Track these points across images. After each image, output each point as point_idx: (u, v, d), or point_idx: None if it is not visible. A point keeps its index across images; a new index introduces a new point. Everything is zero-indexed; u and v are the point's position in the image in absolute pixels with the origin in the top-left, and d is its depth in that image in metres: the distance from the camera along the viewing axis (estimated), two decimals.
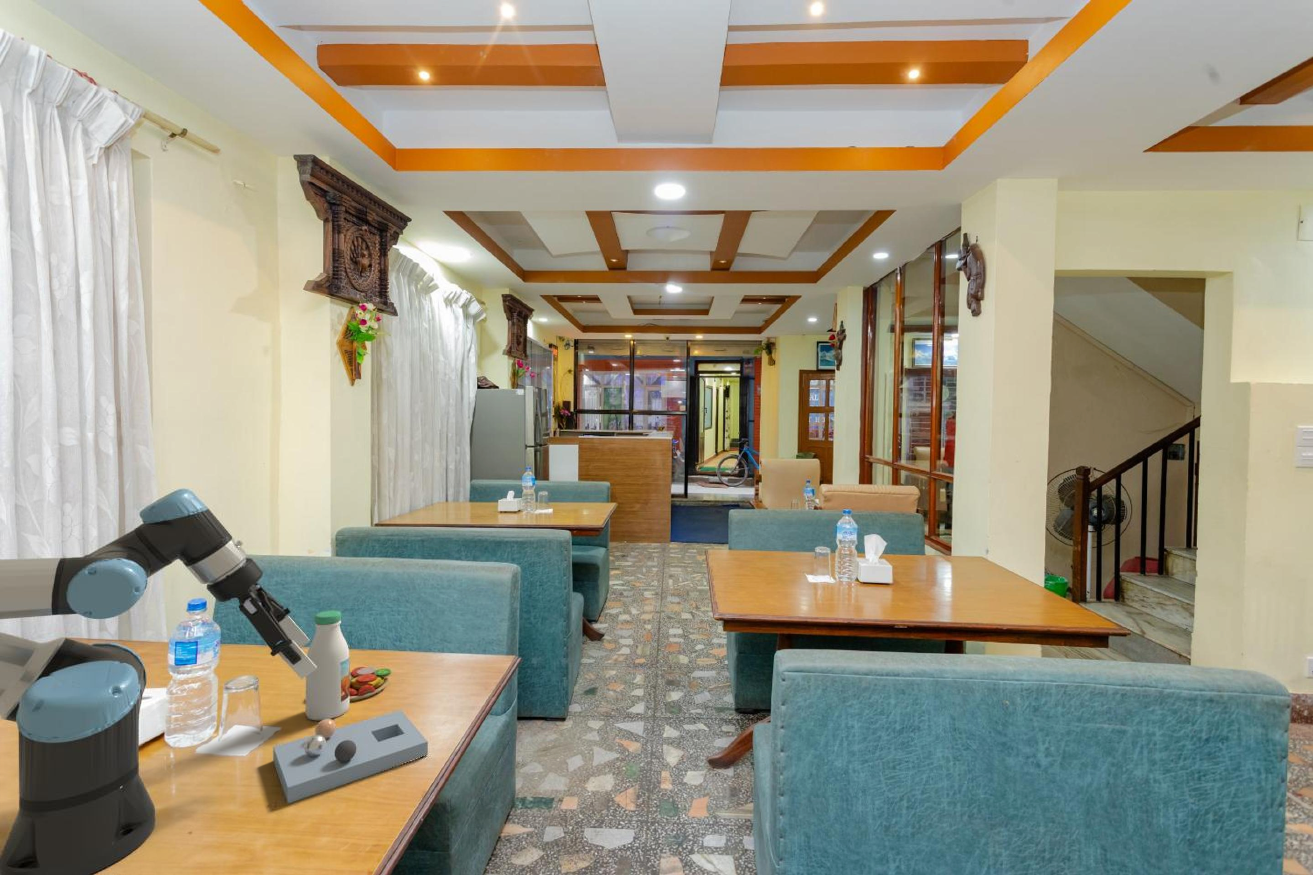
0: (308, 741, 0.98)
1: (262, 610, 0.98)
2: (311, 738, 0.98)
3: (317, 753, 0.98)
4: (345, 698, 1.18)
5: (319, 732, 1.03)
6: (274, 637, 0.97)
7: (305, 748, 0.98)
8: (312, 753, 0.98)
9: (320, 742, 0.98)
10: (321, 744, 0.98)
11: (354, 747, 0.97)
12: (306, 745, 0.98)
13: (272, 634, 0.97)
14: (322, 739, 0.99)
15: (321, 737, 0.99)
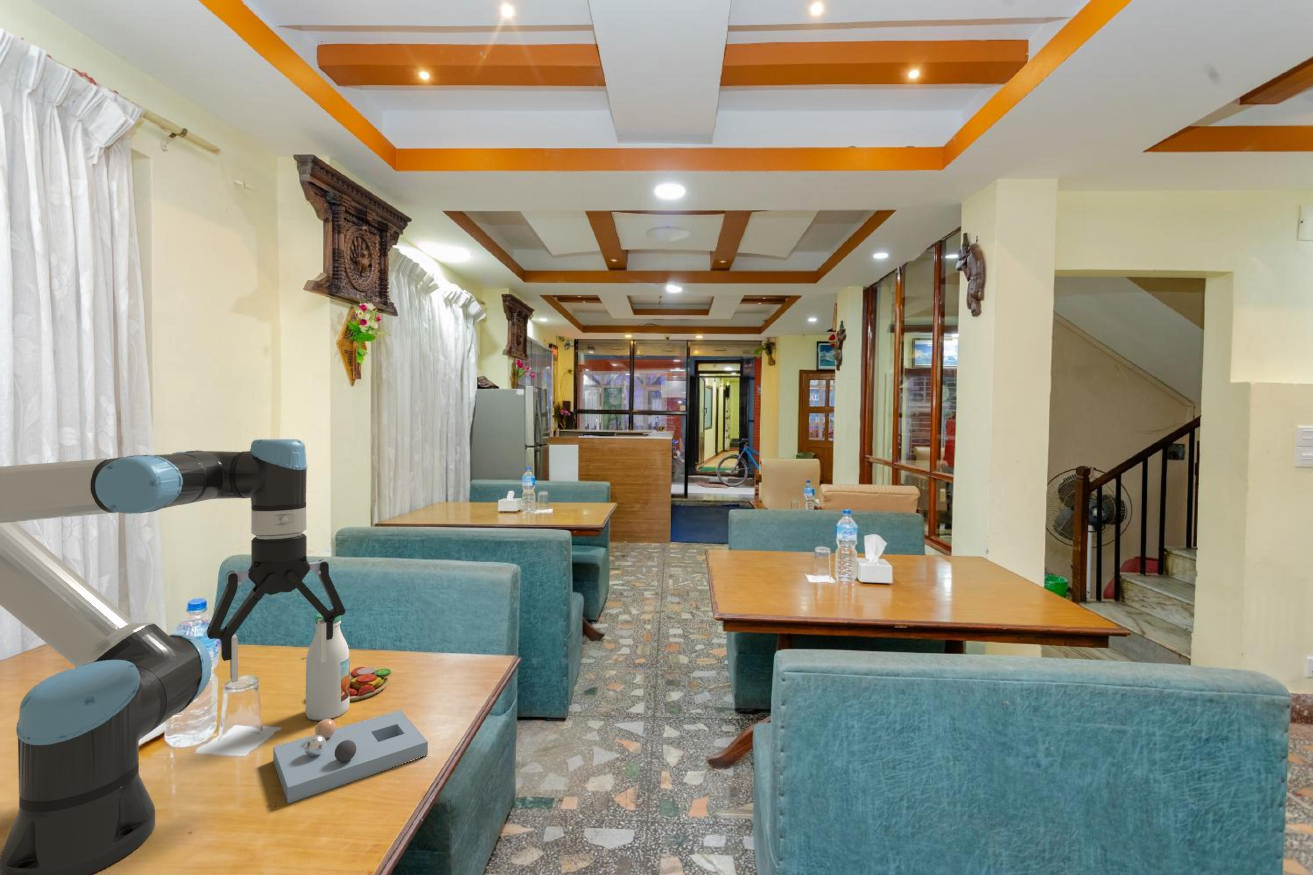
0: (308, 741, 0.98)
1: (227, 590, 0.90)
2: (311, 738, 0.98)
3: (317, 753, 0.98)
4: (345, 698, 1.18)
5: (319, 732, 1.03)
6: (212, 620, 0.90)
7: (305, 748, 0.98)
8: (312, 753, 0.98)
9: (320, 742, 0.98)
10: (321, 744, 0.98)
11: (354, 747, 0.97)
12: (306, 745, 0.98)
13: (214, 617, 0.90)
14: (322, 739, 0.99)
15: (321, 737, 0.99)
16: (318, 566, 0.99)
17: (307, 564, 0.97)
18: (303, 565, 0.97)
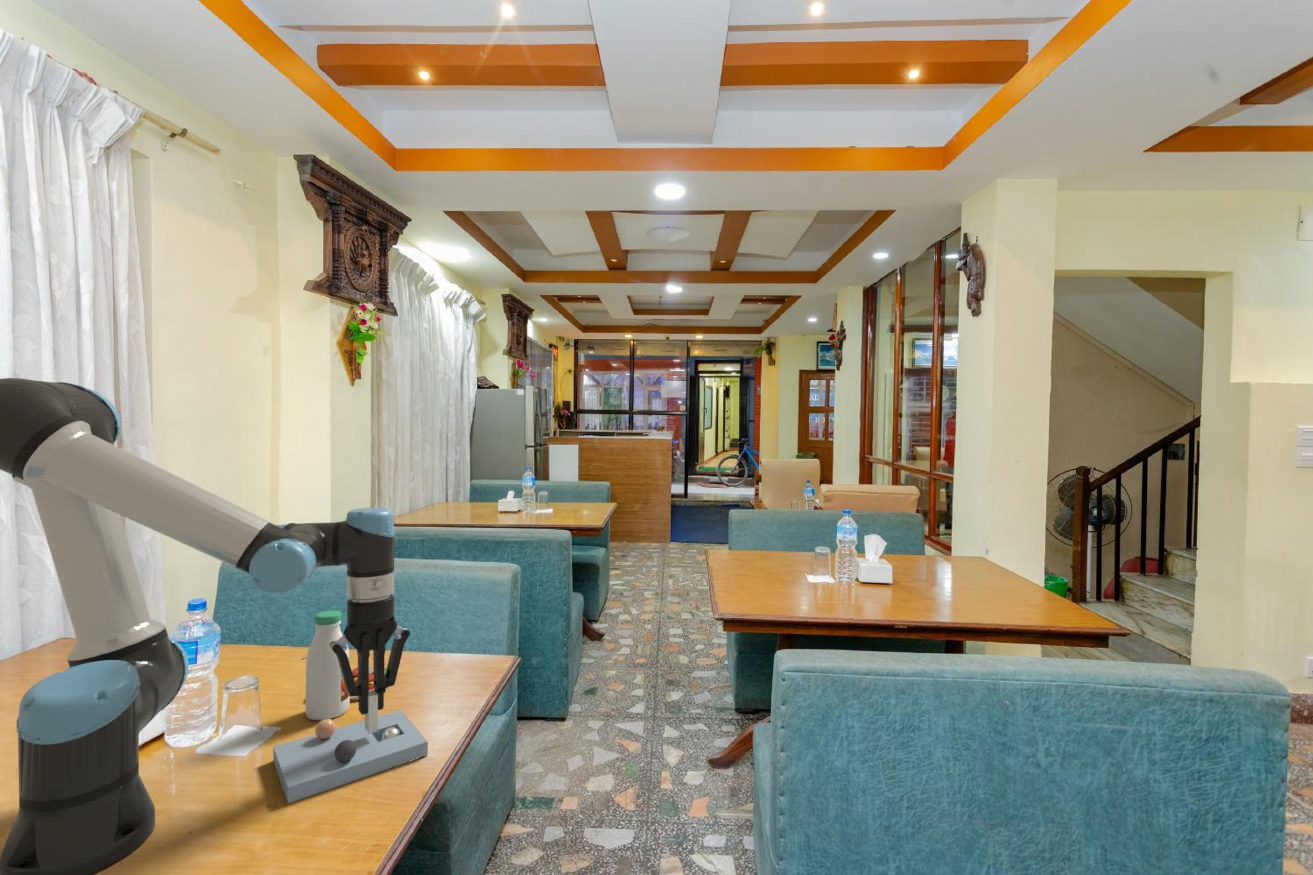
0: (399, 731, 1.07)
1: (339, 659, 1.00)
2: None
3: None
4: (345, 698, 1.18)
5: (319, 732, 1.03)
6: (345, 683, 1.02)
7: (395, 729, 1.07)
8: (390, 736, 1.05)
9: None
10: None
11: (354, 747, 0.97)
12: (397, 730, 1.07)
13: (345, 680, 1.01)
14: None
15: None
16: (401, 631, 1.07)
17: (396, 625, 1.06)
18: (393, 624, 1.06)
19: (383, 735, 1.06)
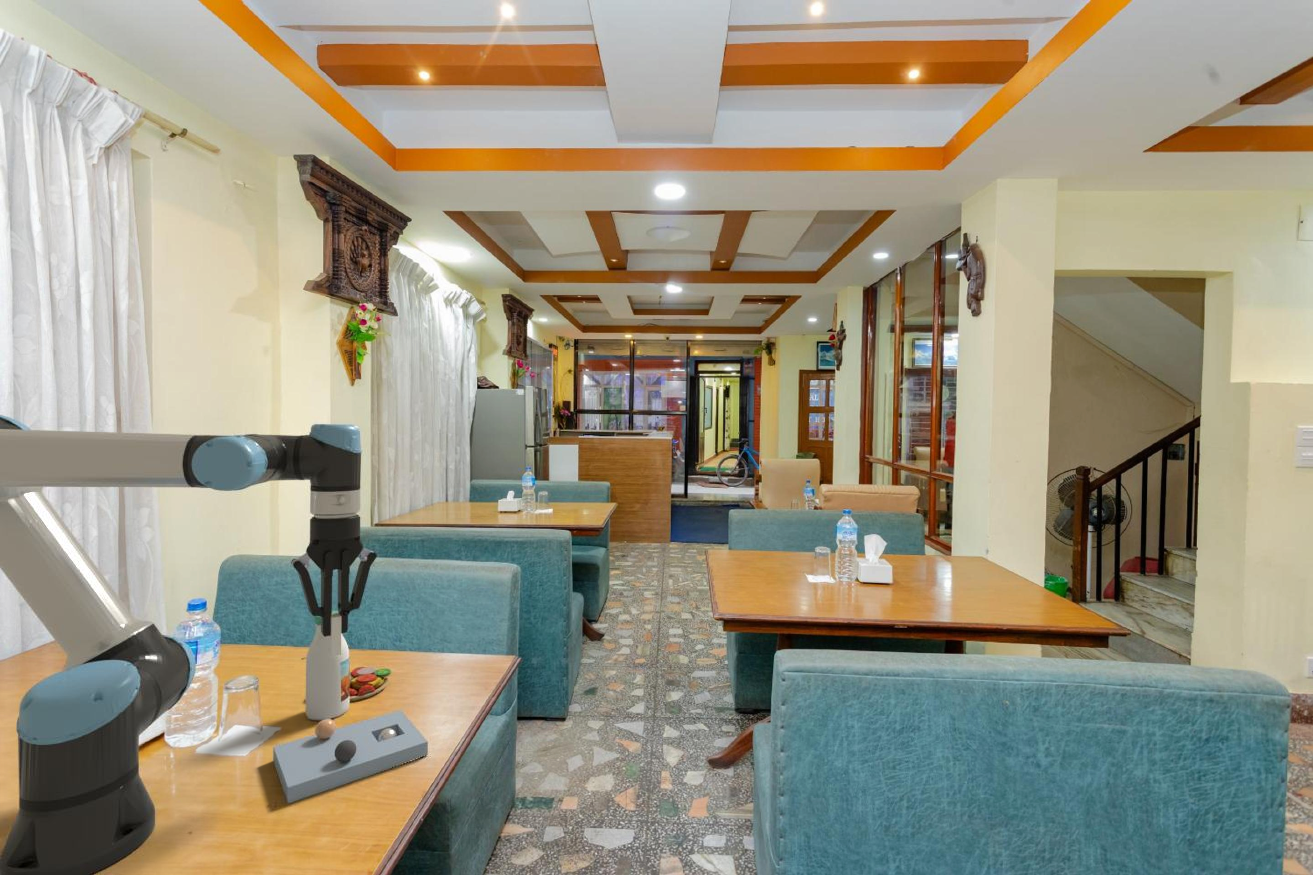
0: (394, 730, 1.07)
1: (301, 576, 0.96)
2: (395, 732, 1.07)
3: None
4: (345, 698, 1.18)
5: (319, 732, 1.03)
6: (307, 602, 0.98)
7: (388, 730, 1.06)
8: (385, 739, 1.05)
9: None
10: None
11: (354, 747, 0.97)
12: (391, 730, 1.06)
13: (306, 599, 0.98)
14: None
15: None
16: (367, 554, 1.03)
17: (362, 546, 1.02)
18: (359, 545, 1.02)
19: (378, 739, 1.05)
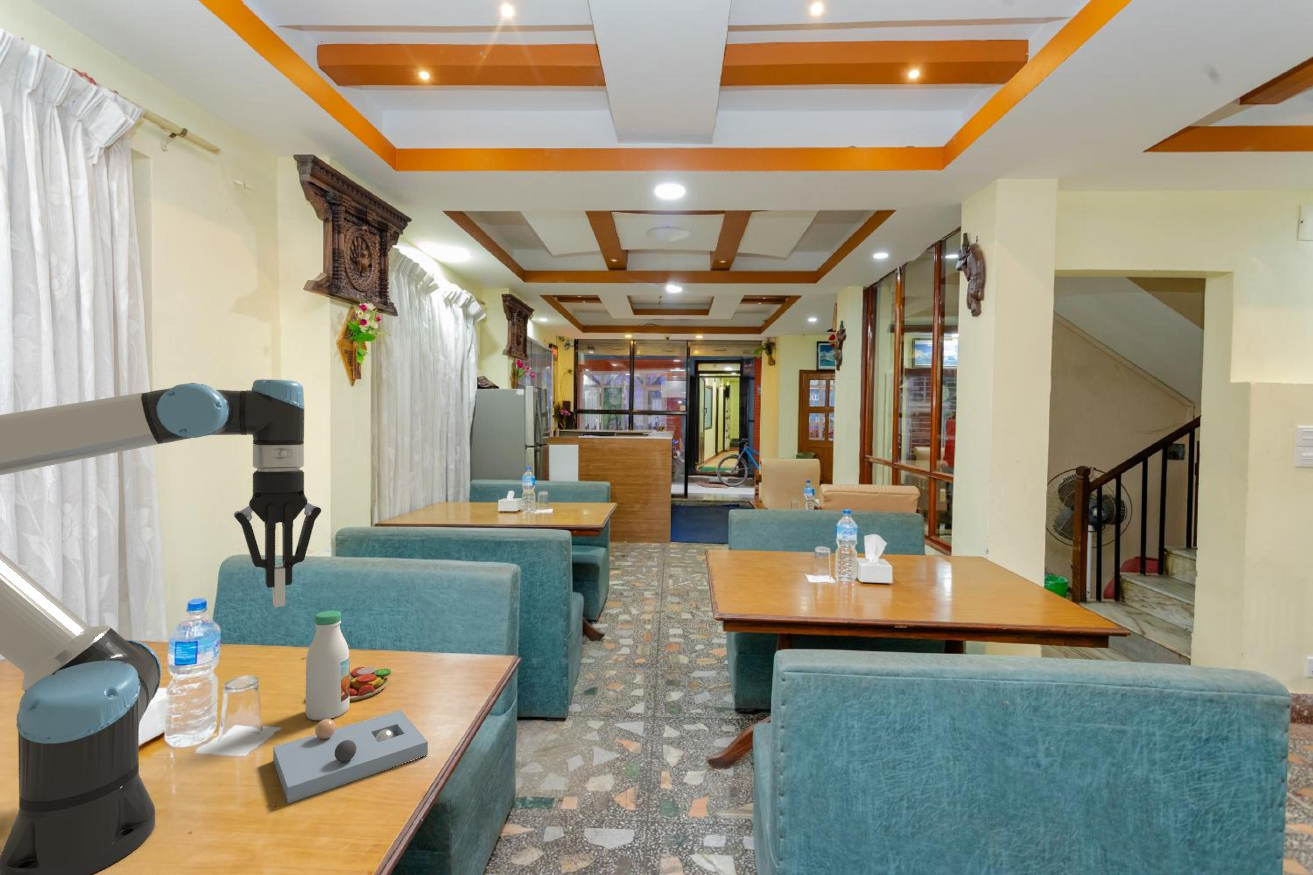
0: (388, 730, 1.06)
1: (243, 527, 0.99)
2: (391, 731, 1.06)
3: None
4: (345, 698, 1.18)
5: (319, 732, 1.03)
6: (250, 554, 1.00)
7: (382, 732, 1.05)
8: None
9: None
10: None
11: (354, 747, 0.97)
12: (385, 731, 1.06)
13: (249, 551, 1.00)
14: None
15: None
16: (312, 508, 1.06)
17: (306, 501, 1.04)
18: (302, 499, 1.04)
19: None
